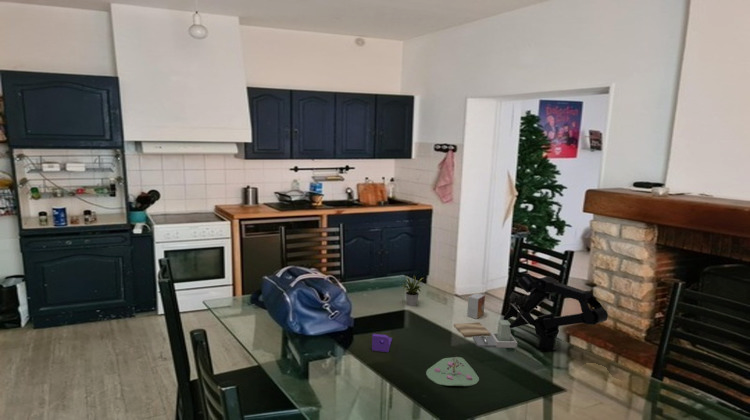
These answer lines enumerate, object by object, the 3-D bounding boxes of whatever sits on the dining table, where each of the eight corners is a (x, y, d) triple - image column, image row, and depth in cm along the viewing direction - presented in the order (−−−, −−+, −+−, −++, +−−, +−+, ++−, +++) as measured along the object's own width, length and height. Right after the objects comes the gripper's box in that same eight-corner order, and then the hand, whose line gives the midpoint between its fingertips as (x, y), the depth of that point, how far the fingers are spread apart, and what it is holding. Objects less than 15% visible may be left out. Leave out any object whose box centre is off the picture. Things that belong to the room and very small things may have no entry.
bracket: (388, 352, 206) (388, 337, 205) (371, 351, 207) (372, 335, 206) (391, 341, 218) (392, 326, 217) (376, 339, 219) (377, 324, 218)
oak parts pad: (491, 335, 226) (491, 333, 226) (464, 337, 223) (464, 335, 223) (479, 324, 239) (479, 322, 238) (453, 325, 236) (453, 323, 235)
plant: (425, 356, 205) (426, 335, 203) (476, 359, 203) (477, 339, 201) (426, 387, 180) (427, 364, 179) (483, 391, 178) (485, 368, 177)
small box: (477, 319, 245) (478, 299, 243) (466, 316, 248) (468, 296, 247) (484, 314, 251) (485, 295, 250) (473, 312, 255) (475, 292, 253)
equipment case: (509, 338, 224) (510, 332, 223) (516, 347, 214) (517, 342, 214) (472, 337, 223) (472, 332, 223) (478, 347, 213) (478, 341, 213)
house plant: (392, 307, 258) (394, 276, 255) (399, 298, 271) (400, 269, 268) (419, 310, 254) (421, 280, 251) (424, 301, 267) (426, 272, 264)
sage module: (505, 340, 221) (507, 320, 220) (509, 345, 216) (511, 324, 215) (497, 340, 221) (498, 320, 220) (500, 345, 216) (502, 324, 215)
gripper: (515, 280, 224) (489, 303, 226) (528, 293, 206) (500, 318, 207) (531, 297, 226) (505, 320, 227) (545, 312, 207) (518, 336, 209)
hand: (506, 323), depth 218 cm, fingers open, 9 cm apart
